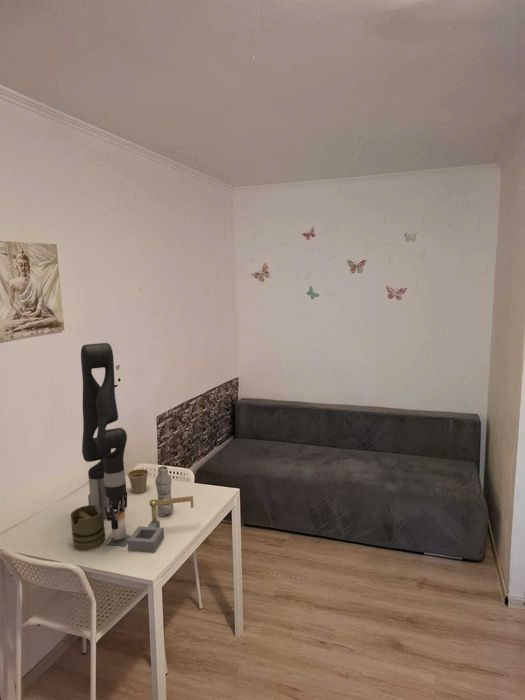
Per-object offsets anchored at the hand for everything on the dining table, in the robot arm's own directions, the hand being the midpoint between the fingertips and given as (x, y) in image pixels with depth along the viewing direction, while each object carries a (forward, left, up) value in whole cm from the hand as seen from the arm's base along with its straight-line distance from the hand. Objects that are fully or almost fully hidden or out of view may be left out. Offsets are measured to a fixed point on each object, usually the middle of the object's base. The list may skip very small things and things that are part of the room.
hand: (118, 524), depth 180 cm
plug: (0, 0, -4) cm, 4 cm away
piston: (-11, -2, -7) cm, 13 cm away
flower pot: (-10, +42, -7) cm, 44 cm away
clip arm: (+17, +10, +2) cm, 20 cm away
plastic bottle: (+10, +22, -7) cm, 25 cm away
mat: (0, 0, -6) cm, 6 cm away
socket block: (+11, +2, -6) cm, 13 cm away
